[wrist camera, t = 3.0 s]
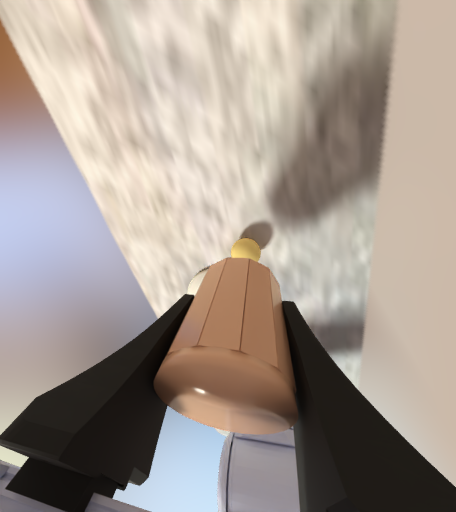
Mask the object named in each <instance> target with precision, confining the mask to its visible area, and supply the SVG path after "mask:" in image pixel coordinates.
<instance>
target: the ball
mask: <svg viewBox="0 0 456 512" xmlns="http://www.w3.org/2000/svg"><path fill="white" fill-rule="evenodd" d="M260 254H261V251H260V247H259V245H258V244H257V243H256V242H255V241H254V240H252V239H249V238H243V239H240V240H238V241H236V242H235V243H234V245H233V247H232V249H231V257H232V258H249V259H252V260H254V261H256V262H258V260H259V258H260Z"/></svg>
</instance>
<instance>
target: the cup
mask: <svg viewBox="0 0 456 512" xmlns="http://www.w3.org/2000/svg"><path fill="white" fill-rule="evenodd" d="M153 386H154V389H155V391H156V393H157V395H158V396H159V398H160V399H161V400H162V401H163V402H164V403H166V404H167V405H168V406H169V407H171V408H172V409H174V410H175V411H177V412H178V413H180V414H182V415H184V416H185V417H188V418H190V419H192V420H194V421H196V422H199V423H202V424H204V425H207V426H210V427H214V428H217V429H221V430H225V431H230V432H235V433H242V434H256V435H259V434H273V433H279V432H282V431H285V430H288V429H289V428H291V427H293V426H294V425H295V424H296V422H297V420H298V410H297V403H296V397H295V393H296V386H295V379H294V373H293V367H292V361H291V355H290V348H289V342H288V336H287V330H286V324H285V318H284V312H283V306H282V299H281V292H280V286H279V283H278V281H277V280H276V278H275V277H274V275H273V273H272V272H271V270H270V269H269V268H268V267H266V266H264V265H262V264H260V263H258V262H256V261H254V260H252V259H249V258H225V259H223V260H221V261H219V262H217V263H215V264H213V265H211V266H210V267H209V269H208V271H207V273H206V274H205V276H204V278H203V280H202V282H201V284H200V286H199V288H198V290H197V292H196V295H195V297H194V299H193V301H192V303H191V305H190V307H189V309H188V311H187V313H186V315H185V317H184V319H183V321H182V323H181V325H180V327H179V330H178V332H177V334H176V336H175V338H174V340H173V342H172V344H171V346H170V348H169V350H168V352H167V354H166V356H165V358H164V360H163V362H162V364H161V366H160V368H159V370H158V372H157V374H156V376H155V379H154V382H153Z"/></svg>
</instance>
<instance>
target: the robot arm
mask: <svg viewBox="0 0 456 512" xmlns="http://www.w3.org/2000/svg"><path fill="white" fill-rule="evenodd" d="M193 299H194V295H191V294H185V295H184V296H183V297H182V298H180V299H179V300H178V301H177V302H176V303H175V304H174V305H173V306H172V307H171V308H170V309H169V310H168V311H167V312H165V313H164V314H163V315H162V316H161V317H160V318H159V319H158V320H157V321H155V322H154V323H153V324H152V325H151V326H150V327H148V328H147V329H146V330H145V331H144V332H142V333H141V334H140V335H139V336H137V337H136V338H135V339H133V340H132V341H130V342H129V343H128V344H126V345H125V346H124V347H122V348H121V349H119V350H118V351H116V352H115V353H113V354H112V355H110V356H109V357H107V358H106V359H104V360H103V361H101V362H100V363H98V364H96V365H94V366H93V367H91V368H89V369H88V370H86V371H84V372H83V373H81V374H79V375H77V376H76V377H74V378H72V379H70V380H69V381H67V382H65V383H63V384H61V385H59V386H57V387H56V388H54V389H52V390H50V391H48V392H46V393H44V394H42V395H40V396H38V397H36V398H35V399H34V401H32V402H31V403H30V405H29V406H28V407H27V408H26V409H25V410H24V411H23V412H22V413H21V414H20V415H19V416H18V417H17V418H16V419H15V420H14V421H13V422H12V424H11V425H10V426H9V427H8V428H7V429H6V430H5V431H4V432H3V433H2V434H1V435H0V445H1V446H3V447H5V448H8V449H10V450H13V451H15V452H17V453H20V454H22V455H25V456H27V457H29V458H28V459H27V461H26V462H25V463H24V465H23V466H22V467H18V466H15V465H12V464H10V463H7V462H4V461H2V460H0V512H150V511H147V510H144V509H141V508H138V507H135V506H132V505H129V504H126V503H123V502H120V501H117V500H114V499H112V498H113V495H114V493H115V491H116V489H120V490H123V491H124V490H125V489H126V486H127V484H128V482H129V483H132V484H135V485H141V484H142V483H144V482H145V481H146V479H147V478H148V477H149V474H150V470H151V465H152V461H153V457H154V453H155V450H156V445H157V442H158V438H159V434H160V430H161V427H162V423H163V419H164V416H165V412H166V409H167V406H168V405H167V404H166V403H164V402H163V401H162V400H161V399H160V398H159V396H158V395H157V393H156V391H155V389H154V386H153V382H154V379H155V376H156V374H157V372H158V370H159V368H160V366H161V364H162V362H163V360H164V358H165V356H166V354H167V352H168V350H169V348H170V346H171V344H172V342H173V340H174V338H175V336H176V334H177V332H178V330H179V327H180V325H181V323H182V321H183V319H184V317H185V315H186V313H187V311H188V309H189V307H190V305H191V303H192V301H193ZM282 306H283V312H284V318H285V324H286V330H287V336H288V342H289V348H290V355H291V361H292V367H293V373H294V379H295V386H296V393H295V397H296V403H297V410H298V420H297V422H296V424H295V425H294V426H293V427H291V428H289V429H288V430H285V431H282V432H279V433H273V434H259V435H256V434H242V433H235V432H230V433H229V435H228V436H227V437H226V439H225V441H224V445H223V448H222V453H221V458H220V465H219V475H218V493H217V494H218V495H217V497H218V512H456V487H455V486H454V485H453V484H452V483H451V482H449V481H448V480H447V479H446V478H445V477H444V476H443V475H442V474H441V473H440V472H439V471H438V470H437V469H436V468H435V467H434V466H432V465H431V464H430V463H429V462H428V461H427V460H426V459H425V458H424V457H423V456H422V455H421V454H420V453H419V452H418V451H417V450H416V449H415V448H414V447H413V446H412V445H410V443H409V442H407V440H406V439H405V438H404V437H403V436H402V435H401V434H400V433H399V432H398V431H397V430H396V429H394V427H393V426H392V425H391V424H390V423H389V422H388V421H387V420H386V419H385V418H384V417H383V416H382V415H381V414H380V413H379V412H378V411H377V410H376V409H375V408H374V406H372V404H371V403H370V402H369V401H368V400H367V399H366V398H365V397H364V396H363V395H362V394H361V393H360V392H359V390H358V389H357V388H356V387H355V386H354V385H353V384H352V382H351V381H350V380H349V379H348V378H347V377H346V376H345V374H344V373H343V372H342V371H341V370H340V368H339V367H338V366H337V365H336V363H335V362H334V361H333V360H332V358H331V357H330V356H329V355H328V353H327V352H326V351H325V349H324V348H323V347H322V345H321V344H320V342H319V341H318V340H317V338H316V337H315V335H314V334H313V332H312V331H311V329H310V328H309V326H308V325H307V323H306V322H305V320H304V318H303V317H302V315H301V313H300V312H299V310H298V308H297V306H296V305H295V303H294V302H291V301H282Z"/></svg>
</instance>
